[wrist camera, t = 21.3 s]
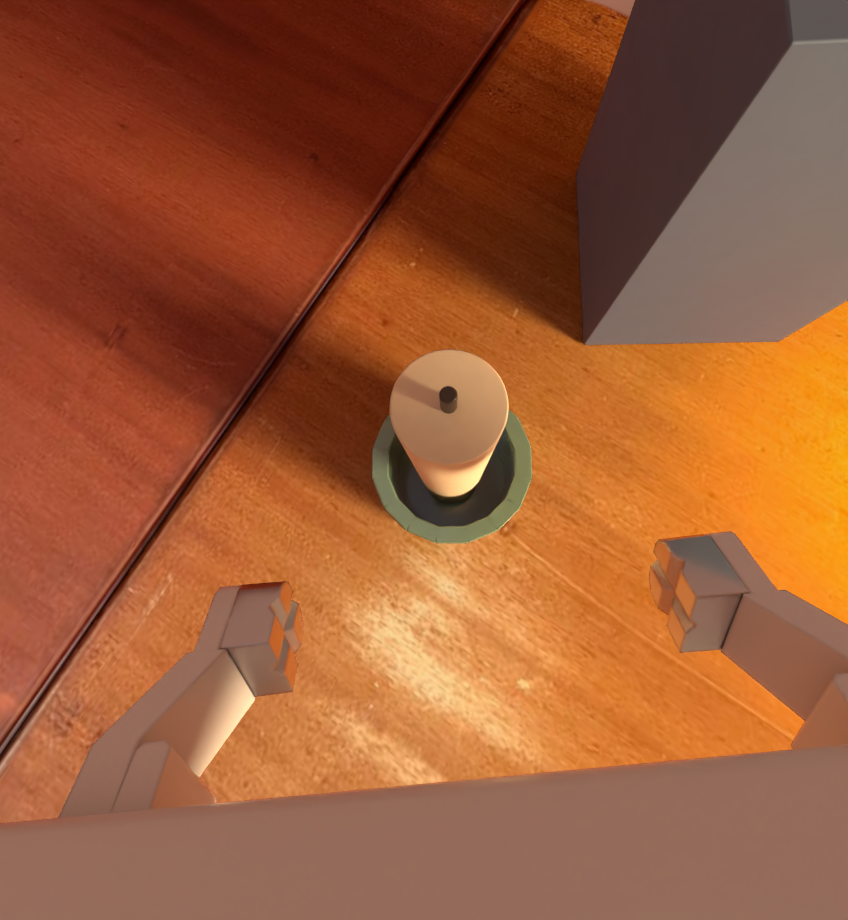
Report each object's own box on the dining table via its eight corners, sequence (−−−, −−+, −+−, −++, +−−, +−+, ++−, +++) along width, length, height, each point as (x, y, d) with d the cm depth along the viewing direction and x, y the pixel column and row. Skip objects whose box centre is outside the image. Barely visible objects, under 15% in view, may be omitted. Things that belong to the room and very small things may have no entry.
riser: (761, 167, 28) (1214, -374, 11) (778, 342, 27) (1327, 16, 10) (575, 173, 29) (748, -334, 12) (583, 345, 27) (790, 43, 11)
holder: (514, 414, 27) (530, 383, 22) (517, 542, 26) (534, 543, 21) (388, 415, 27) (372, 385, 22) (387, 541, 26) (370, 543, 21)
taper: (470, 441, 26) (493, 318, 11) (485, 494, 26) (529, 439, 11) (416, 455, 26) (369, 351, 11) (431, 509, 26) (401, 473, 11)
